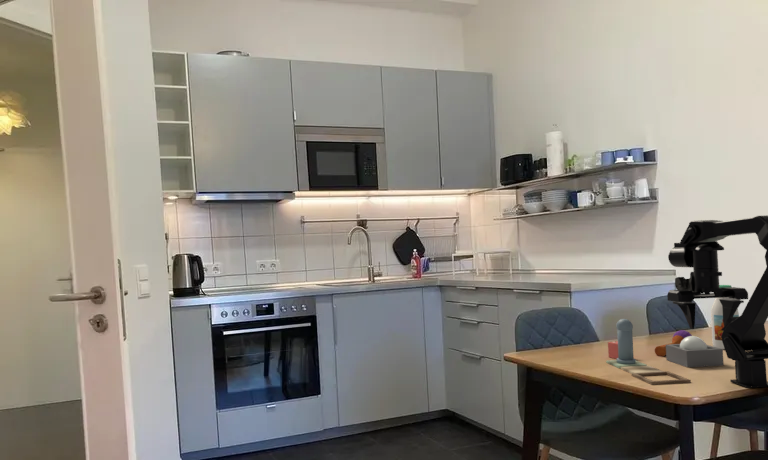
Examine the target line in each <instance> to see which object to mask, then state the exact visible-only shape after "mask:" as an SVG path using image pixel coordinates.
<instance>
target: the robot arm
mask: <svg viewBox="0 0 768 460" xmlns="http://www.w3.org/2000/svg"><path fill="white" fill-rule="evenodd" d="M747 234H748V235H749V234H750V235H751V234H755V235H756V236H757V240H758V242H759V244H760V245H761V246H762V247H763V249H764V250H765V255H764V260H765V265H766V267H765V270H764V271H763V273H762V275H761V277H760V279H759V281H758V283H757V285H756V286H755V289H753V292H752V295H751V296H750V297H749V292H748V291H747V289H746V288H745V287H738V286H737V287H735V286H733V287H732V286H731V287H727V288H719V285H720V278H719V277H722V276H723V272H722V271H719V259H718V258H719V257H718V255H719V254H718V251H724V250H725V247H724V246H723V245H721V244H720V243H719V242H718V241H720V240H724V239H725V238H726V237H731V236H739V235H740V236H741V235H747ZM673 246H674V247H673V248H671V250H669V253H668V261H669V263H670V265H672V266H673V267H675V268H692V269H693V271H690V273H689V278H685V277H684V276H678V277H676V278H674V287H675V289H670V290H669V291H668V293H667V301H669V302H672V303H673V304H674V305H677V306H678V307H679V309H680V310H681V311H682V313H683V315H684V317H685V320H686V322H687V325H688V326H689V328H690V329H691V330H694V329H695V325H696V304H697V303H696V302H693V301H694V300H695V299H696V300H697V299H698V300H699V299H713V298H714V299H715V298H721V297H723V299H719V300H720V302H721V304H722V309H723V323H724V328H722V329H721V330H722V331H723V332H722V336H721V338H722V342H723V345H724V348H725V349H724V352H725V354H726V357H727V359H729V360H732V361H735V362H734V368H735V371H734V372H735V373H734V374H735V379H733V378H732V379H730V382H731V383H733V384H736V385H739V386H742V387H745V388H748V389H749V388H765V387H766V388H767V387H768V381H767V380H768V377H767V363H766V360H768V342H767V340H766V339H765V338H766V335H767V333H766V332H767V331H766V328H765V324H766V322H767V320H768V215H756V216H753V217H747V218H739V219H733V220H724V221H723V220H715V219H708V220H706V219H705V220H702V219H701V220H691V221H690V222H688V226H687V227H686V229H685V231H684V234H683V235H682V238H681V239H680V242H674V244H673ZM744 300H748V302H747V303H746V305H745V307H744V310H743V311H742V313H741V314H740V315H739V317H733V316H734V314H735V312H736V310H737V309H738V308H739V307H740V305H741V304H744V302H745V301H744Z"/></svg>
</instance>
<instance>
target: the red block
mask: <svg viewBox="0 0 768 460" xmlns="http://www.w3.org/2000/svg"><path fill="white" fill-rule="evenodd" d="M607 349H608V358H611V359H614V360H617V358H618V340H616V341H610V342H607Z"/></svg>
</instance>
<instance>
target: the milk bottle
mask: <svg viewBox="0 0 768 460" xmlns="http://www.w3.org/2000/svg"><path fill="white" fill-rule="evenodd" d="M727 287H732V285H730V284H719V288H727ZM719 299H723V297H721V298H714V301H713V303H712V306H711V310H710V314H711V315H710V318H711V320H710V322H711V339H712V346H713V347H717V348H721V349H723V350H725V348H724V345H723V342H722V338H721V336H722V332H723V331H722V330H721V329H722V328H724V323H723V309H722V304H721V302H720V300H719ZM739 314H740V313H739V310H738V309H737V310H736V312H735V314H734V316H733V317H739V316H740V315H739Z"/></svg>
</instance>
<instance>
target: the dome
mask: <svg viewBox="0 0 768 460" xmlns="http://www.w3.org/2000/svg"><path fill="white" fill-rule="evenodd" d="M707 345H708V344H707V343H706V342H705V341H704V340H703V339H702V338H700V337H698V336H696V335H692V336H688V337H686V338H684V339H683V340H682V341H681V343H680V348H683V349H687V350H697V349H707Z"/></svg>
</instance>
